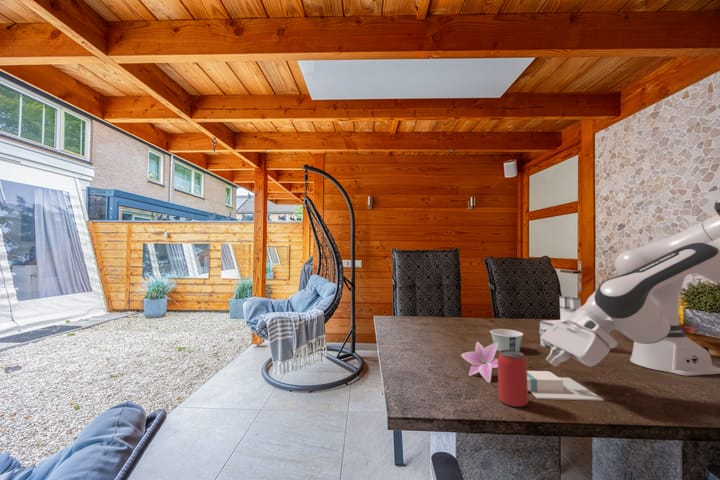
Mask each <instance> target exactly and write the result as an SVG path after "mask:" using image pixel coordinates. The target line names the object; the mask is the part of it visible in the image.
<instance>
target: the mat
mask: <svg viewBox="0 0 720 480" xmlns="http://www.w3.org/2000/svg"><path fill="white" fill-rule="evenodd" d="M558 377H559V376H558ZM559 378H560V379H562V380H563V392H550V391H528V392H530V393H531V395H532V396H534V397H535V398H536V399H537V400H557V401H558V400H559V401H560V400H562V401H594V402H596V401H599V402H604V401H605V399H604V398H602V397H601V396H599V395H598V394H596V393H594V392H593V391H592V390H590V389H588V388H587V387H585V386H583V385H582V384H580V383H578V382H577V381H575V380H573V379H572V378H570V377H559Z"/></svg>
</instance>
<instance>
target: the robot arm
mask: <svg viewBox="0 0 720 480" xmlns="http://www.w3.org/2000/svg"><path fill="white" fill-rule="evenodd" d="M713 208H714V210H715V212H716V215H713V216H711V217H709V218H706V219H705V220H702V221H700V222H698V223H696V224H694V225H692V226H690V227H688V228H686V229H684V230H682V231H680V232H676V233H675V234H673V235H669V236H667V237H664V238H661V239H657V240H656V241H653V242H650V243H648V244H645V245H642V246H640V247H636V248H634V249H631V250H627V251H623V252H621V253H620V254H619V255H618V256H616V259H615V260H614V269H615V271H616V272H617V274H618V275H617V276H614V277H611V278H608V279H606V280H604V281H603V282H602V283H601V284H600V285H598V287H597V289H596V290H595V291H594V292H593V293H592V294H591V295H589V297H588V298H587V300H586V302H585V303H584V304H583V305H581V307H579V308H578V309H577V310H576V311H575V312H574V313H573V314H572V315H571V316H570V317H569V318H568V319H567V320H566V321H564V322H558V323H555V324H554V325H552V326H551V327H550V328H549V329H548V330H546V331H545V332H544V333H543V334H542V336H541V339H542V340H543V341H544V342H545V343H546V344H547V345H548V346H550V347H552V349H550V352H549V354H548V355H547V357H546V358H545V360H546V361H547V362H548V363H549V364H551V365H552V366H553V367H557V366H559V365H560V364H561V363H563V362H566V361H568V360H569V359H570V358H572V359H574V360H576V361H577V362H580V363H581V364H583V365H585V366H588V367H589V368H590V367H593V366H596V365H598V364H599V363H600V362H601V361H602V360H603V359H604V358H605V357H606V356H607V355H608V354H609V353H610V351H611V349H615V347H617V345H618V344H619V343H618V341H616V339H615V338H614V337H613V336H612V335H610V332H612V331H613V330H616V331H618V332H619V333H621V334H622V335H624V336H625V337H626V338H628V339H629V340H631V341H633V346H632V351H631V356H630V359H629V361H630V362H631V363H633V364H634V365H637V366H640V367H643V368H647V369H652V370H657V371H661V372H665V373H666V372H667V373H672V374H676V375H679V376H680V375H681V376H703V375H704V376H705V375H720V367H719V366H716V365H713V363H712V357H711V355H710V352H708V350H707V349H705V348H704V347H702V346H701V345H699V344H698V343H696V342H695V341H693V340H692V339H691V338H689V337H687V334H686V333H688V334H694V332H695V331H696V330H695V329H694V327H692V326H687V325H684V326H682V325H681V324H680V310H679V309H680V308H679V305H680V304H679V303H680V301H679V300H680V294H681V291H682V289H683V284H684V281H685V280H686V277H687V276H688V275H691V274H697V275H699V276H702V277H703V278H705V279H707V280H711V281H713V282H714V283H717V284H720V197H719V198H718V199H717V200H716V201H715V203H714V207H713ZM550 347H549V348H550Z"/></svg>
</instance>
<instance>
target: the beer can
mask: <svg viewBox="0 0 720 480" xmlns="http://www.w3.org/2000/svg"><path fill="white" fill-rule="evenodd" d="M497 360H498V367H497V384H498V399H499V401H500V402H502V403H503V404H505V405H507V406H510V407H515V408H523V407H525V406H527V405H528V403H529V397H528V395H529V394H528V392H529V391H528V388H527V371H528V363H527V361H526V359H525V354H524V353H523V352H520V351H519V352H518V351H514V350H501V351H499V355H498V357H497Z"/></svg>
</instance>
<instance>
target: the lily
mask: <svg viewBox="0 0 720 480" xmlns="http://www.w3.org/2000/svg"><path fill="white" fill-rule="evenodd" d="M497 347H498V343H493V342H492V343H491V344H489V345H488V346H485V347H484V346H483V345H482V344H481V343H480V342H479V341H477V342H475V348H474V349H475V350H474V351H467V352H463V353H461V354H460V356H461V357H462V359H464V360H465V361H466V362H468V363H469V364H471V366H470V367H469V371H468V376H469V377H470V376H473V375H475V374H478V373H479V374H480V375H481V376H482V378H483V379H484V381H486V382H487V383H491V380H492V371H493V370H492V369H493V368H498V358H495V357H496V353H497V351H498V350H497Z"/></svg>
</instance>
